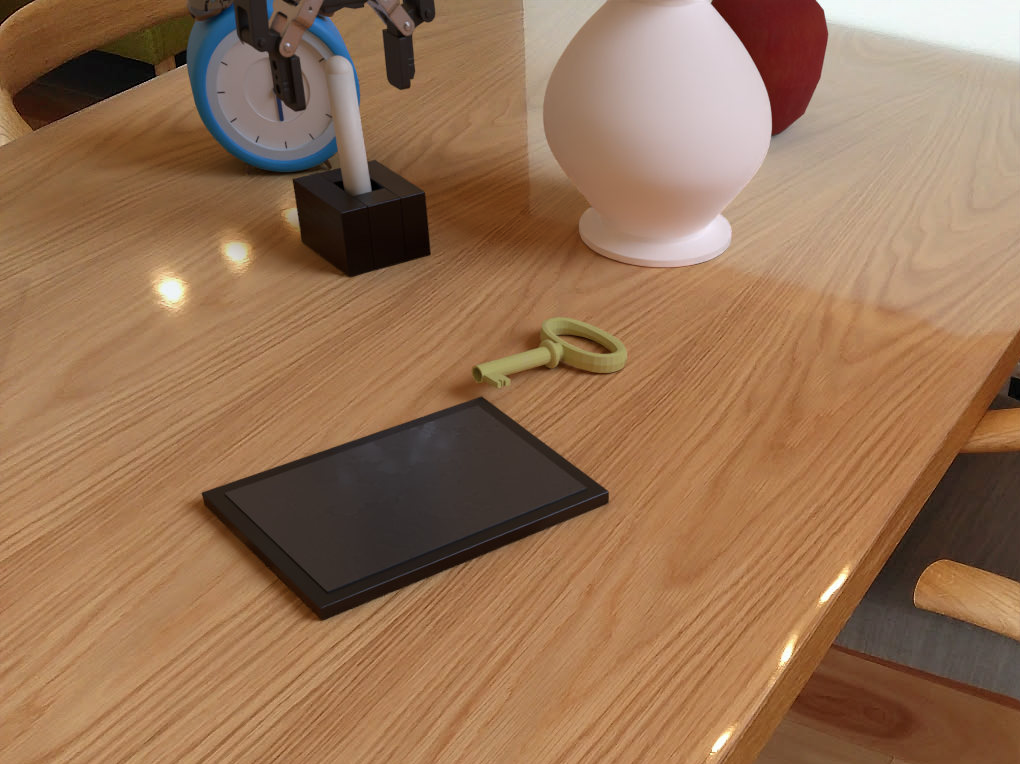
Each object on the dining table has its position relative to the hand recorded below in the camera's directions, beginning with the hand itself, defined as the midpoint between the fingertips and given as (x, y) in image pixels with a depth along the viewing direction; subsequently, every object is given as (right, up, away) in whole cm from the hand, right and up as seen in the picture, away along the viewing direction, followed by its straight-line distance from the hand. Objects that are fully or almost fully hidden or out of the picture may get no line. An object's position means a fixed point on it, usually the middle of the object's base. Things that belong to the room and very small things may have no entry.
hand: (347, 97), depth 106 cm
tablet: (+9, -33, -16) cm, 38 cm away
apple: (+30, +12, +32) cm, 46 cm away
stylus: (-1, -8, +8) cm, 12 cm away
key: (+15, -21, -3) cm, 26 cm away
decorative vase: (+21, -5, +14) cm, 26 cm away
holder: (-1, -8, +8) cm, 12 cm away
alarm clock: (-11, +3, +19) cm, 22 cm away
